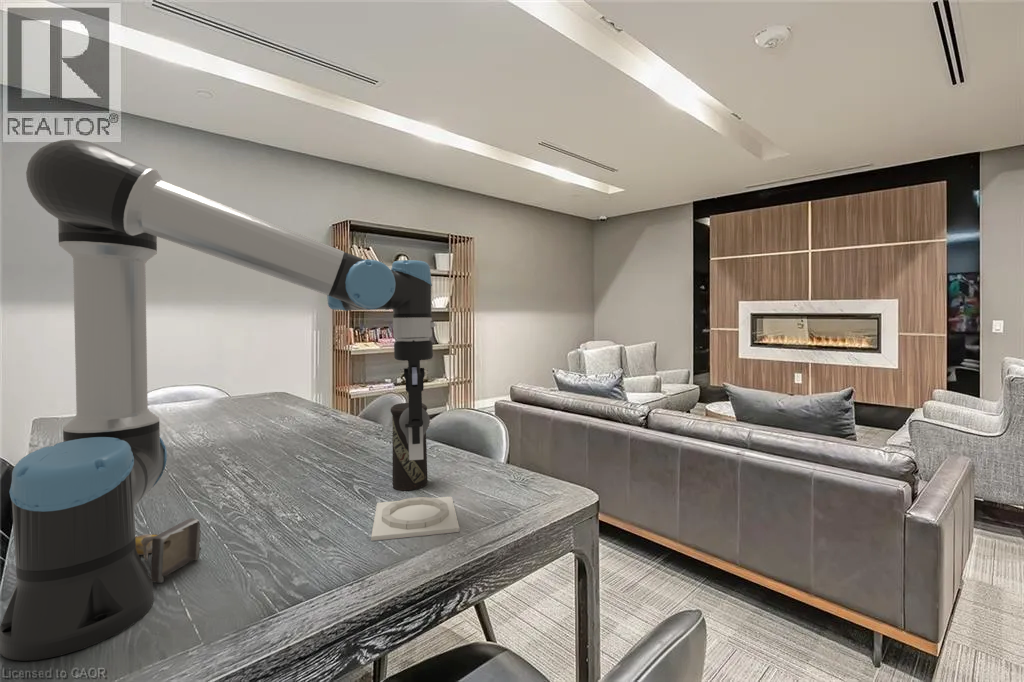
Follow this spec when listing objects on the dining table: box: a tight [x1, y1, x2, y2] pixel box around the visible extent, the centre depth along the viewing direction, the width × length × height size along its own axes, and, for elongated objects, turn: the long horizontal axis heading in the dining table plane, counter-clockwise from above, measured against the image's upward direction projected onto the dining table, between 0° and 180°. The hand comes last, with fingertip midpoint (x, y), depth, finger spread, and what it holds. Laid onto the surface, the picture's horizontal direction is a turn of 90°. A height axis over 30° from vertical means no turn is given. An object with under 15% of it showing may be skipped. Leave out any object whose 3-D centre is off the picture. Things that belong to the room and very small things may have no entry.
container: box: [390, 402, 428, 491], centre depth 113 cm, size 9×9×20 cm
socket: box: [370, 496, 460, 542], centre depth 94 cm, size 16×16×2 cm
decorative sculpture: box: [135, 518, 202, 583], centre depth 79 cm, size 16×10×7 cm, turn 59°
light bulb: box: [399, 408, 431, 445], centre depth 94 cm, size 6×6×10 cm
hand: (416, 454), depth 94 cm, fingers closed on light bulb, 6 cm apart
